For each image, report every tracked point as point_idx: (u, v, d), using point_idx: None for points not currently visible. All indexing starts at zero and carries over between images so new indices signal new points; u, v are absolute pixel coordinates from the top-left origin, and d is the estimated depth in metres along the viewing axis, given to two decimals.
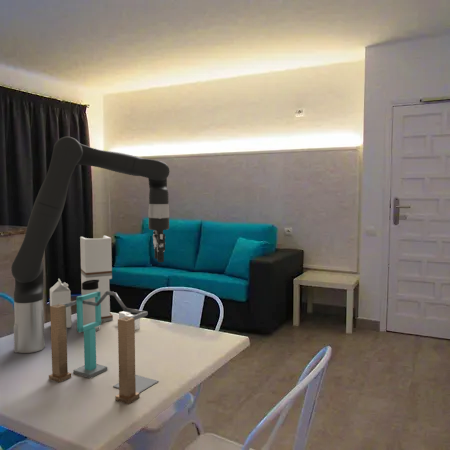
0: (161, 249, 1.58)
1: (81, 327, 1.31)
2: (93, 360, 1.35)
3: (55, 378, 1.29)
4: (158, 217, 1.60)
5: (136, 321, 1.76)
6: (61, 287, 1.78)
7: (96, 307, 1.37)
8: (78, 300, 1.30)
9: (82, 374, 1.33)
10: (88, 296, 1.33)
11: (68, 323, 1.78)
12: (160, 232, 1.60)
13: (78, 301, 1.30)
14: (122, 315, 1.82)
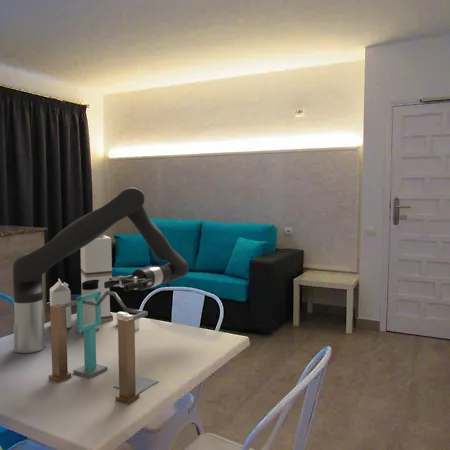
0: (141, 285, 1.44)
1: (81, 327, 1.31)
2: (93, 360, 1.35)
3: (55, 378, 1.29)
4: (155, 277, 1.56)
5: (136, 321, 1.76)
6: (61, 287, 1.78)
7: (96, 307, 1.37)
8: (78, 300, 1.30)
9: (82, 374, 1.33)
10: (88, 296, 1.33)
11: (68, 323, 1.78)
12: None
13: (78, 301, 1.30)
14: (120, 315, 1.82)
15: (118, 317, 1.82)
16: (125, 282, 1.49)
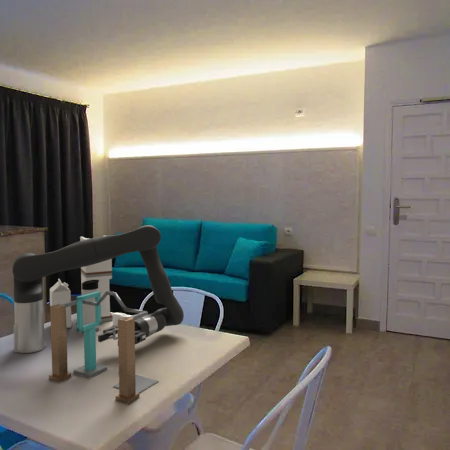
0: (135, 340, 1.43)
1: (81, 327, 1.31)
2: (93, 360, 1.35)
3: (55, 378, 1.29)
4: (149, 327, 1.54)
5: None
6: (61, 287, 1.78)
7: (96, 307, 1.37)
8: (78, 300, 1.30)
9: (82, 374, 1.33)
10: (88, 296, 1.33)
11: (68, 323, 1.78)
12: None
13: (78, 301, 1.30)
14: (117, 316, 1.80)
15: (115, 318, 1.81)
16: None
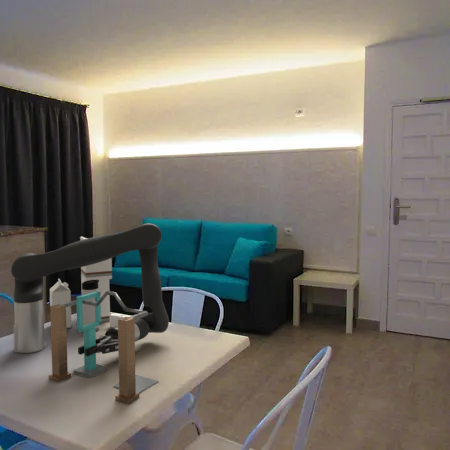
0: (103, 349, 1.35)
1: (81, 327, 1.31)
2: (92, 360, 1.35)
3: (55, 378, 1.29)
4: None
5: None
6: (61, 287, 1.78)
7: (96, 307, 1.37)
8: (78, 300, 1.30)
9: (82, 374, 1.33)
10: (88, 296, 1.33)
11: (68, 323, 1.78)
12: None
13: (78, 301, 1.30)
14: (114, 317, 1.79)
15: (112, 319, 1.79)
16: (97, 343, 1.40)
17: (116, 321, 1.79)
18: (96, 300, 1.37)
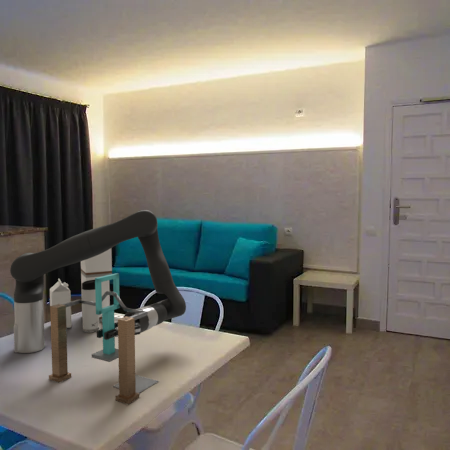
0: None
1: (100, 309, 1.27)
2: (111, 344, 1.31)
3: (55, 378, 1.29)
4: (149, 319, 1.41)
5: None
6: (61, 287, 1.78)
7: (114, 289, 1.33)
8: (97, 281, 1.26)
9: (101, 358, 1.28)
10: (107, 278, 1.29)
11: (68, 323, 1.78)
12: None
13: (97, 282, 1.26)
14: None
15: None
16: (116, 327, 1.35)
17: None
18: (115, 282, 1.32)
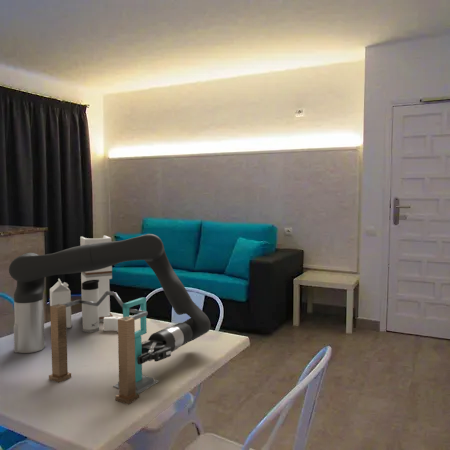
0: (157, 357, 1.25)
1: None
2: (139, 371, 1.26)
3: (55, 378, 1.29)
4: (175, 341, 1.37)
5: None
6: (61, 287, 1.78)
7: None
8: (125, 307, 1.21)
9: None
10: (134, 303, 1.24)
11: (68, 323, 1.78)
12: None
13: (125, 308, 1.22)
14: (109, 320, 1.75)
15: (106, 322, 1.75)
16: (142, 350, 1.31)
17: (111, 324, 1.75)
18: (142, 307, 1.28)
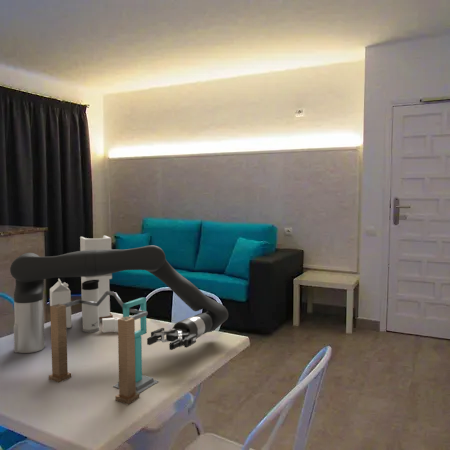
0: (187, 343, 1.36)
1: None
2: (139, 371, 1.26)
3: (55, 378, 1.29)
4: (198, 329, 1.47)
5: None
6: (61, 287, 1.78)
7: None
8: (125, 307, 1.21)
9: None
10: (134, 303, 1.24)
11: (68, 323, 1.78)
12: (189, 336, 1.43)
13: (125, 308, 1.22)
14: (108, 321, 1.73)
15: (105, 324, 1.73)
16: (168, 337, 1.41)
17: (110, 325, 1.74)
18: (142, 307, 1.28)
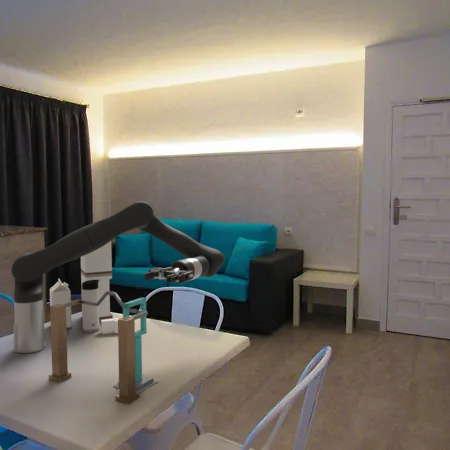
0: (184, 277, 1.38)
1: None
2: (139, 371, 1.26)
3: (55, 378, 1.29)
4: (195, 269, 1.49)
5: None
6: (61, 287, 1.78)
7: None
8: (125, 307, 1.21)
9: None
10: (134, 303, 1.24)
11: (68, 323, 1.78)
12: None
13: (125, 308, 1.22)
14: (108, 323, 1.72)
15: (105, 325, 1.71)
16: (165, 274, 1.43)
17: (110, 326, 1.72)
18: (142, 307, 1.28)
